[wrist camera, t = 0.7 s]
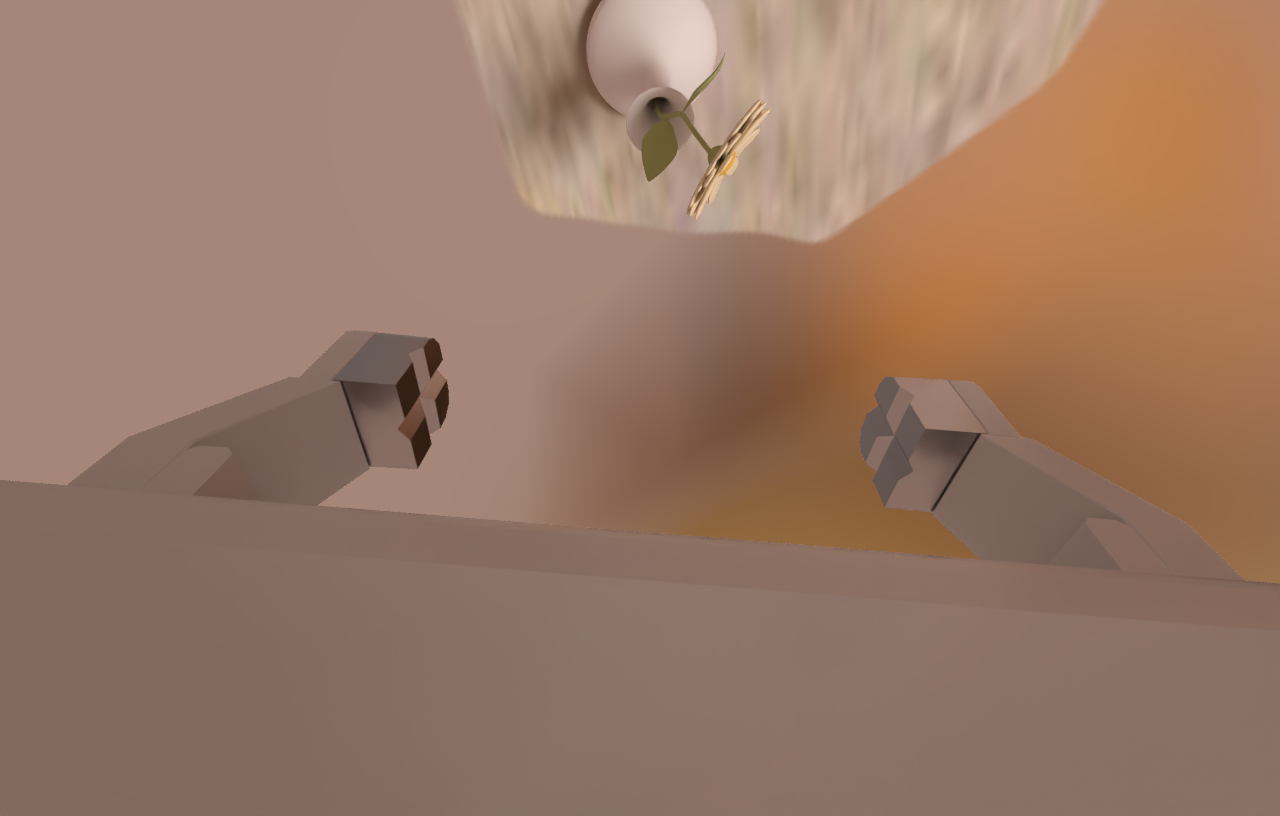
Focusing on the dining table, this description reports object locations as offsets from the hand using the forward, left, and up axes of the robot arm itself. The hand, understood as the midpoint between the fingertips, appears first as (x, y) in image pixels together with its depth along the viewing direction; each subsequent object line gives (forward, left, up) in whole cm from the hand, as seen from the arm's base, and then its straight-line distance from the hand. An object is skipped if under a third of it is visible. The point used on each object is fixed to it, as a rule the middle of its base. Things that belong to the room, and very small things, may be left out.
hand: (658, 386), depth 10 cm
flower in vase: (+11, -3, -47) cm, 49 cm away
